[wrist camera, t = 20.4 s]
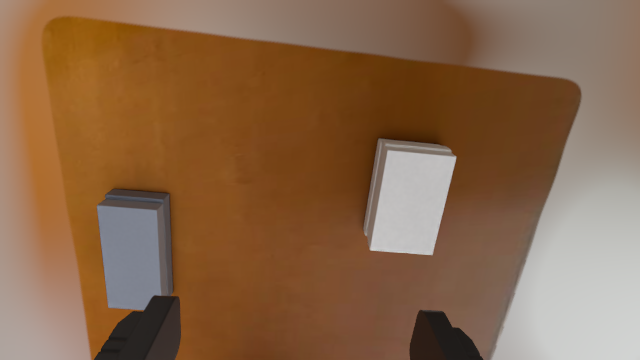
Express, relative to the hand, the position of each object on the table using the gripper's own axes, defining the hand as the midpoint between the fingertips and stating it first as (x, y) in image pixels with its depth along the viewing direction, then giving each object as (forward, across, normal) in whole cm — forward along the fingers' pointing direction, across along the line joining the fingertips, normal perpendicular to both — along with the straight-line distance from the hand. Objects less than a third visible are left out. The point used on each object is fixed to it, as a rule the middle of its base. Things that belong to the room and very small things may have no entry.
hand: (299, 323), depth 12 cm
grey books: (+24, +15, +12) cm, 31 cm away
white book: (+21, -11, +4) cm, 24 cm away
